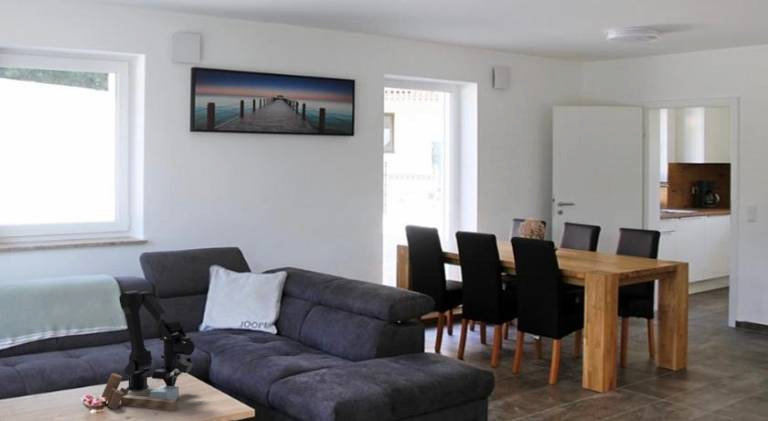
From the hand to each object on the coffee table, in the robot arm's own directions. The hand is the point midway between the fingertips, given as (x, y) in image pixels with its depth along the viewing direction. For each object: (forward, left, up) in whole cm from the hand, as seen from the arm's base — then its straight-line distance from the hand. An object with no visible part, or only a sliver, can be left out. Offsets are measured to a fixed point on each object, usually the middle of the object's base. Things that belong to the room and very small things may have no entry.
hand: (171, 391), depth 312 cm
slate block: (+1, -6, -2) cm, 7 cm away
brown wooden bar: (0, -16, -2) cm, 16 cm away
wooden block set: (-15, -15, -2) cm, 22 cm away
